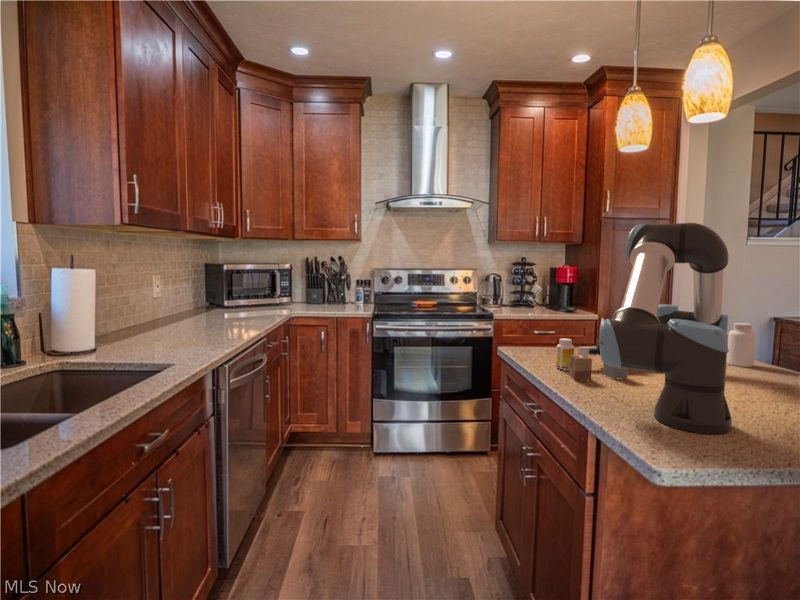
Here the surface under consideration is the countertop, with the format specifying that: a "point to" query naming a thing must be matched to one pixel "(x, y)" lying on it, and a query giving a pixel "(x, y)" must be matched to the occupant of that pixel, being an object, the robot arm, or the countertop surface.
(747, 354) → the pill bottle
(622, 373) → the slate block
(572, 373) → the walnut block
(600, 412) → the countertop surface
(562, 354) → the supplement bottle
